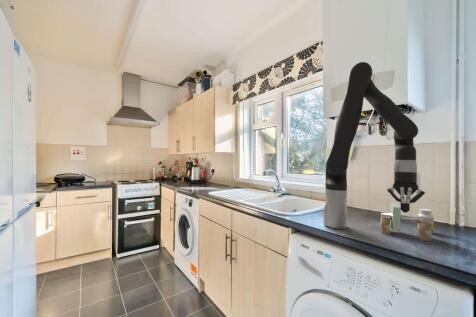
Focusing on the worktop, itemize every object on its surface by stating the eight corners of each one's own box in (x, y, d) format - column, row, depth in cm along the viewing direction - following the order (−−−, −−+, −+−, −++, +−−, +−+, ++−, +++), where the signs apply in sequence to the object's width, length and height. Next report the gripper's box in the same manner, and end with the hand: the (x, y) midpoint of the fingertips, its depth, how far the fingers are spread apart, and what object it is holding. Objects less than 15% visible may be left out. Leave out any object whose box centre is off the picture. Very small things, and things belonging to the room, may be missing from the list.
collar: (393, 231, 87) (393, 207, 87) (390, 225, 96) (390, 203, 96) (400, 232, 86) (400, 207, 86) (397, 226, 94) (397, 203, 95)
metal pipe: (381, 219, 92) (381, 213, 92) (380, 217, 95) (381, 211, 95) (429, 225, 84) (430, 218, 84) (428, 223, 86) (428, 217, 86)
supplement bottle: (417, 229, 98) (417, 207, 98) (433, 231, 94) (433, 209, 95) (417, 231, 94) (417, 209, 94) (434, 234, 90) (434, 211, 90)
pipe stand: (381, 233, 91) (381, 216, 91) (380, 229, 96) (380, 214, 96) (430, 241, 83) (431, 223, 83) (427, 236, 88) (427, 219, 88)
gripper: (386, 170, 90) (386, 211, 89) (428, 171, 83) (427, 216, 83) (385, 170, 96) (385, 208, 96) (423, 171, 89) (423, 212, 89)
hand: (405, 212), depth 89 cm, fingers closed
